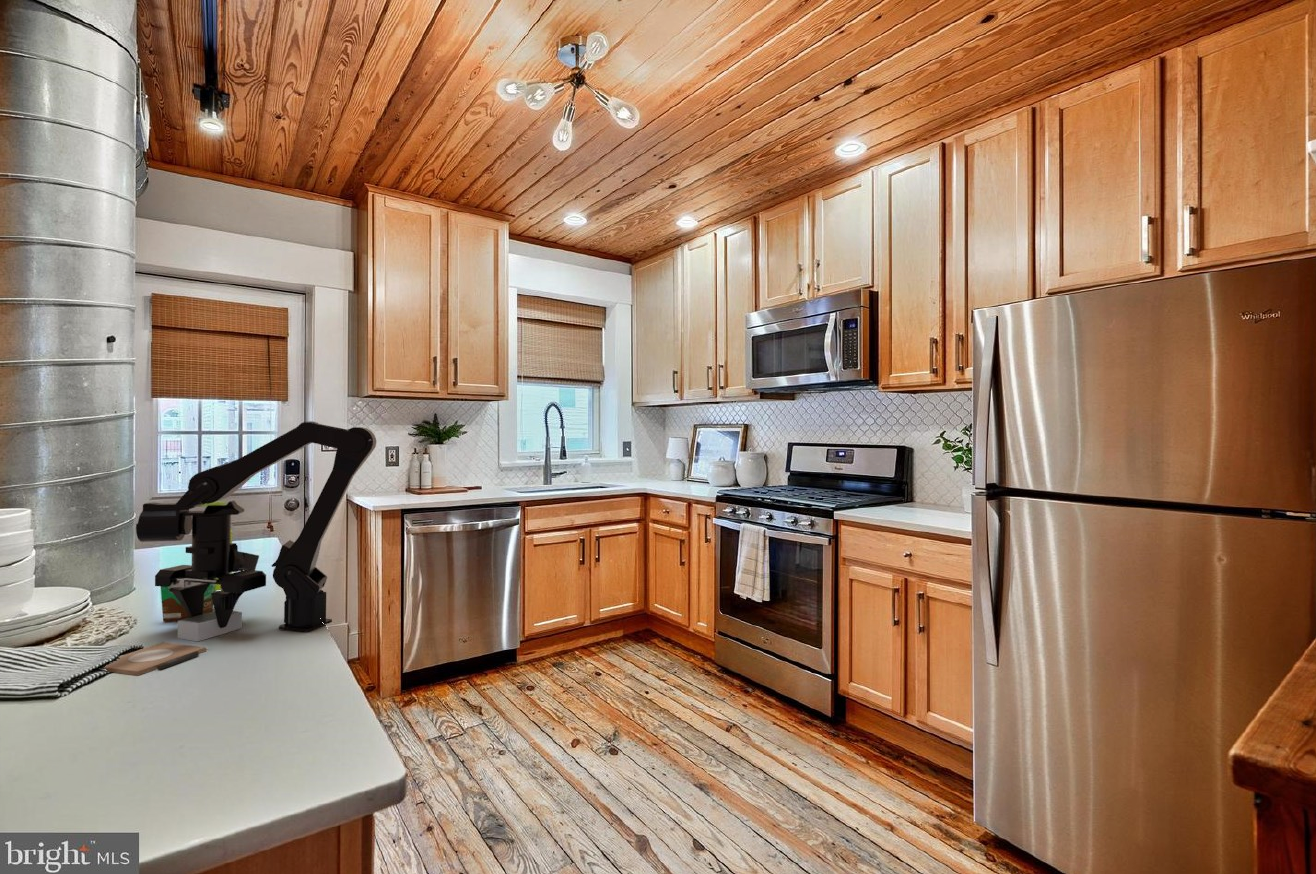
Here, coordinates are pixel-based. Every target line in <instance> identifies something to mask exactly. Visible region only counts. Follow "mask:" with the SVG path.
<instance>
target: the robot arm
mask: <svg viewBox="0 0 1316 874" xmlns="http://www.w3.org/2000/svg"><path fill="white" fill-rule="evenodd" d="M310 444H316V445H321V446H325V447H329V448H333V449H336V452H335V456H334V461H333V466H332V469H331V472H330V474H329V476H328V478H327V480H326V482H325V484H324V485H323V487H322V490H321V492H320V494H319V496H318V498H317V500H316V502H315V504H314V505H313V508H312V510H311V511H310V514H309V516H308V518H307V520H306V522H305V524H304V526H303V528H302V530H301V532H300V534H299V536H298V538H297V539H296V540H295V541H292V540H291V539H289V540H288V541H286V542H285V543H284V544H282V545H281V547H280V550H279V553H278V556H277V559H276V561H274V562H273V563H272V564H271V567H272V568H273V567H274V568H273V572H272V578H273V580H274V582H275V584H276V585H277V586H278V587H280V588H281V589H283V592H284V595H285V600H284V603H283V604H284V605H283V606H284V607H283V610H284V611H283V615H284V616H283V622H284V623H283V624H280V625H279V626H278V629H279V630H286V631H296V632H310V631H313V630H316V629H318V628H320V627H323V626H325V625H328V624H330V623H333V619H332V618H327V591H324V590H322V588H324V587H325V584H326V582H327V580H328V576H327V575H326V574H325V573H324V572H323V571H321V570H320V569H319V568H318V567H317V566H316V565H317V563H318V558H319V556H320V548H321V545H322V541H323V539H324V537H325V534H326V533H327V530H328V529H329V526H330V525H331V523H332V520H333V518H334V516H335V515H336V512H337V510H338V508H339V506H340V504H341V502H342V500H343V498H344V497H345V494H346V492H347V490H348V489H349V486H350V485H351V483H352V480H353V478H354V477H355V475H356V473H357V472H358V471H359V470H360V468H361V467H362V466H364V464H365V462H366V461H367V459H369V457H370V455H371V454H372V453H373V452H374V450H375V448H376V446H377V438H376V435H375V434H374V433H373V432H372V430H370V429H369V428H366V427H360V426H359V427H350V428H348V429H347V428H346V429H345V428H341V427H335V426H331V425H326V424H322V423H319V422H317V421H313V420H311V421H310V420H307V421H303V422H301V423H300V424H299V425H297V426H296V427H294V428H292V429H291V430H289V431H287V432H286V433H283V434H281V435H280V436H278V437H276V438H275V439H272V440H271V441H269V442H267V443H266V444H264V445H261V446H260V447H257V448H256V449H254V450H253V451H251V452H248V453H247V454H245V455H244V456H243V455H242V457H240V458H237V459H234V460H232V461H229V462H227V463H224V464H220V465H216V466H214V467H210V468H209V469H206V470H202V471H201V472H200V471H199V472H197V473H195V474H194V475H193V476H191V478H190V479H189V480H188V486H187V490H186V492H185V493H184V494H183V495H182V496H181V497H180V498H179V500H178V501H177V502H176V503H173V502H171V503H169V502H168V503H167V502H166V503H161V502H146V503H144V504H142V511H141V512H140V514H139V517H138V520H137V523H135V532H136V537H137V539H138V541H139V542H140V543H141V542H142V543H145V542H147V543H148V542H150V543H152V542H153V543H154V542H180V541H182V540H183V539H184V538H185V536H187V535H190V533H191V546H185V553H186V554H191V564H181V565H175V566H171V567H166V568H162V569H159V571H157V573H156V574H155V575H154V586H155V587H160V588H161V587H168V586H170V585H171V584H172V583H173V588H170V589H169V592H172V593H173V594H174V595H175V597H176V598H177V599H178V601H179V602H180V603H181V605H182V606H183V608H184V609H185V611H186V613H187V614H188V616H189V617H190V618H191V617H195V616H198V615H202V614H203V605H204V593H205V591H206V590H207V588H208V587H209V585H210V584H220V585H221V591H215V592H213V593H211V596H212V600H213V610H214V611H215V613H216V618H217V622H218V624H219V627H220V628H224V627H226V626H227V624H228V621H229V619H230V617H231V614H232V612H233V611H234V609H235V607H236V605H237V602H238V601H239V598H240V597H241V596H242V595H243V594H244V593H245V592H249V591H254V590H256V589H259V588H263V587H266V586H267V574H266V573H265V572H264V571H263V570H256V569H257V565H258V562H259V559H260V555H258V554H253V553H249V552H244V551H238V548H239V547H238V544H237V543H235V542H232V543H231V530H232V516H237V515H240V514H243V513H244V512H245V508H243V507H242V506H241V505H240V504H238V503H237V502H236V501H235V500H231V501H228V502H227V503H226V505H208V506H205V509H204V510H191V509H194V508H199V507H198V506H201V505H204V504H208V503H213V502H216V501H218V502H220V501H223V500H224V499H228V498H229V497H230V496H232V495H233V494H234V493H235V492H236V491H238V490H239V489H241V487H242V486H244V485H245V484H247V483H248V482H249V481H250V480H251V479H252V478H253V477H255V475H257V474H258V473H260V472H263V471H264V470H266V469H268V468H269V467H271V466H273V465H275V464H277V463H278V462H281V461H282V460H283V459H286V458H287V457H289V456H291V455H292V454H295V453H296V452H298V451H300V450H301V449H304V448H306V447H308V446H309V445H310ZM230 572H232V573H231V574H230ZM215 578H218V579H215ZM320 618H321V619H320ZM322 622H323V623H324V624H325V625H324V624H323V623H322Z"/></svg>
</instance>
